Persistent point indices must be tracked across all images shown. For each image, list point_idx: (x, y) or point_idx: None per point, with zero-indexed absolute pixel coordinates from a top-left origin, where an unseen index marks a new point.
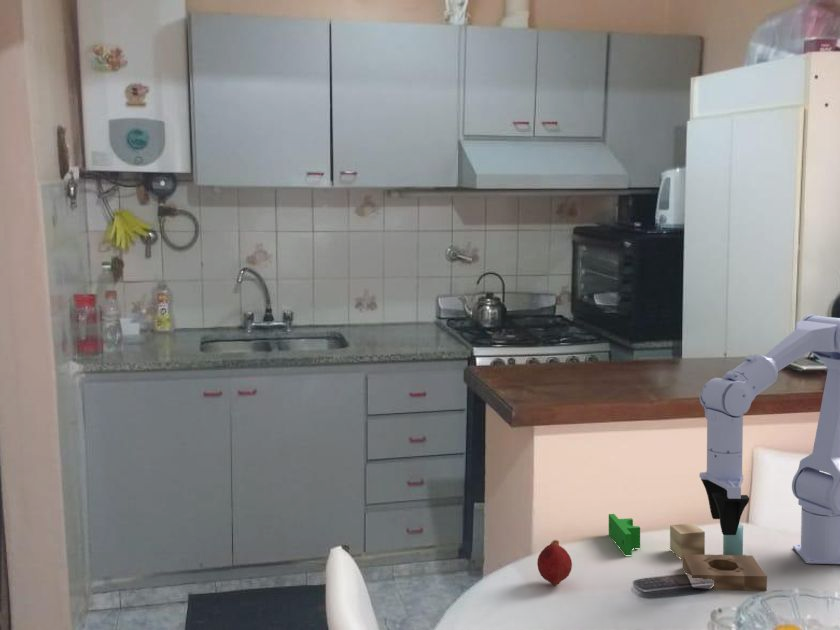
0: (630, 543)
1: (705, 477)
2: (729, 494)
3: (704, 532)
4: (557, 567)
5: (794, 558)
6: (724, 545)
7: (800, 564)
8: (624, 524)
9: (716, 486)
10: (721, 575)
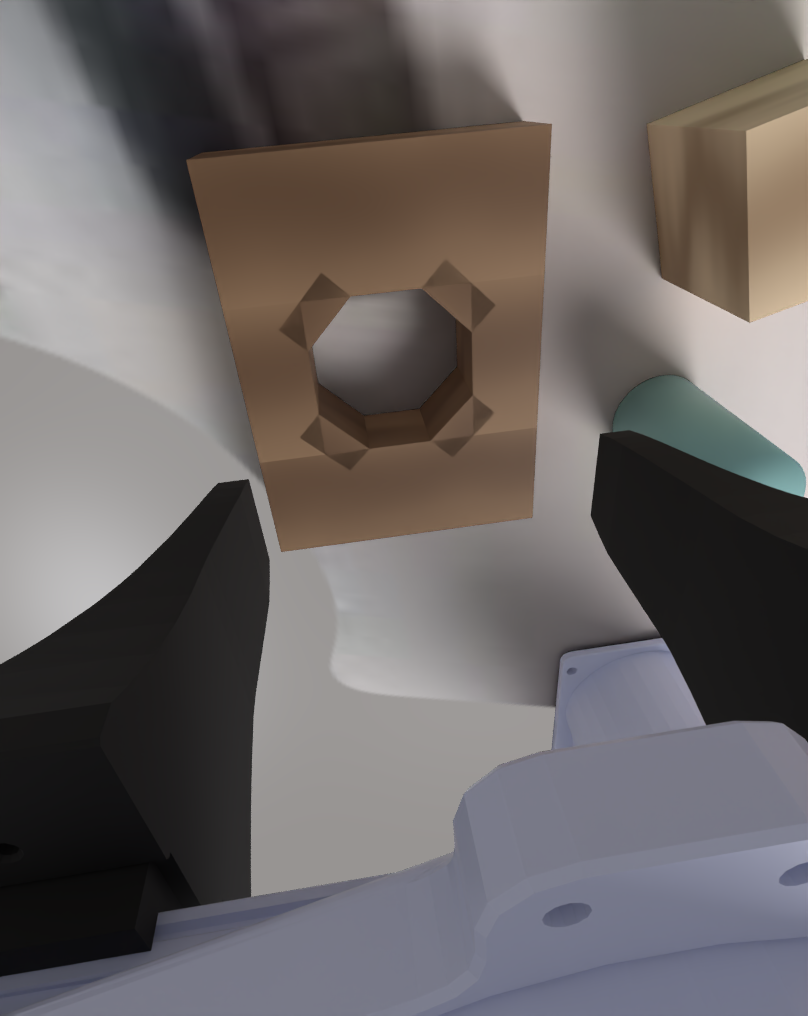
0: None
1: (458, 898)
2: None
3: (746, 319)
4: None
5: (618, 622)
6: (682, 405)
7: (562, 634)
8: None
9: (789, 679)
10: (232, 349)
